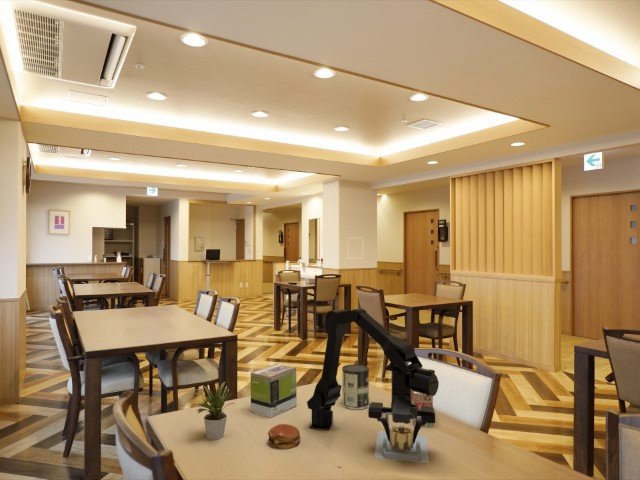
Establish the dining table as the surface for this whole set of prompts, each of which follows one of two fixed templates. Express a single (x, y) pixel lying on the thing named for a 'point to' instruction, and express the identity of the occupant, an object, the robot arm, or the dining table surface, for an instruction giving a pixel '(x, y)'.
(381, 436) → the gear board
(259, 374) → the tea box
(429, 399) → the stack of blocks
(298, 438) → the burger
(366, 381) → the coffee can
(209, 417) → the house plant
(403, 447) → the brass gear
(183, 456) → the dining table surface
